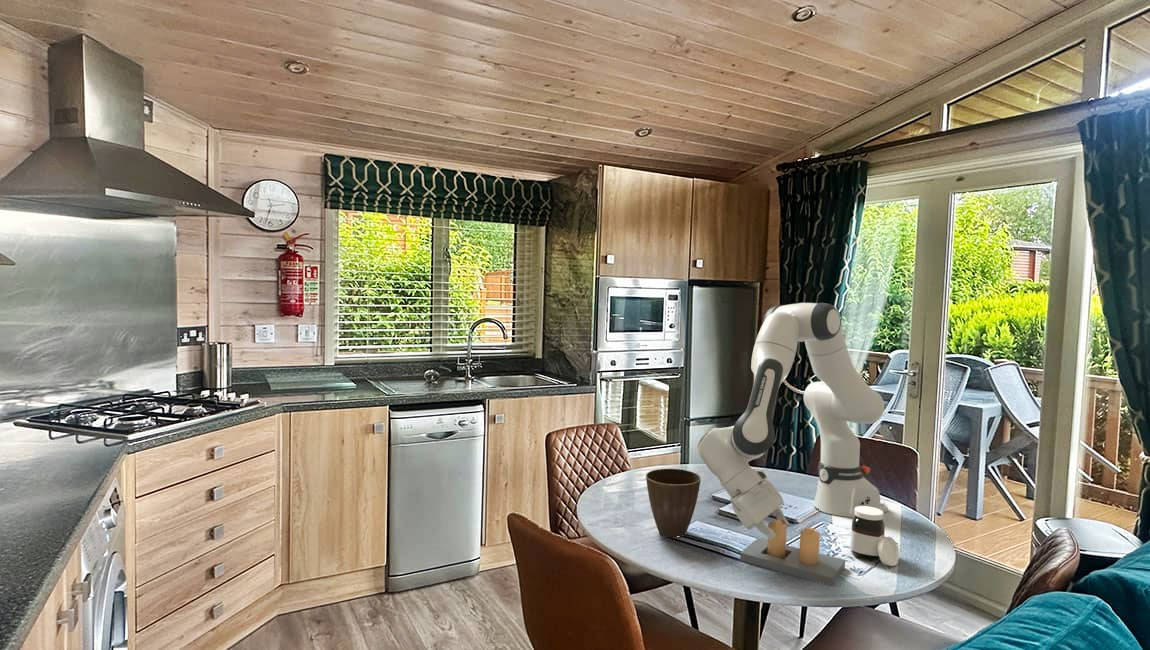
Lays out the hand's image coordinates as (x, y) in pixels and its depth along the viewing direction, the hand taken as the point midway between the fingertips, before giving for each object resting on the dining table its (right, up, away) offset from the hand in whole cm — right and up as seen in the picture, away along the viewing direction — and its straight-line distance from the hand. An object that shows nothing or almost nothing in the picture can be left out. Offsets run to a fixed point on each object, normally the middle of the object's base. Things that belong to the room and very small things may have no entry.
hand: (779, 531), depth 162 cm
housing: (+2, -8, -2) cm, 8 cm away
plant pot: (-25, -6, +17) cm, 31 cm away
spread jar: (+25, -8, +3) cm, 27 cm away
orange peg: (-1, -7, +1) cm, 7 cm away
